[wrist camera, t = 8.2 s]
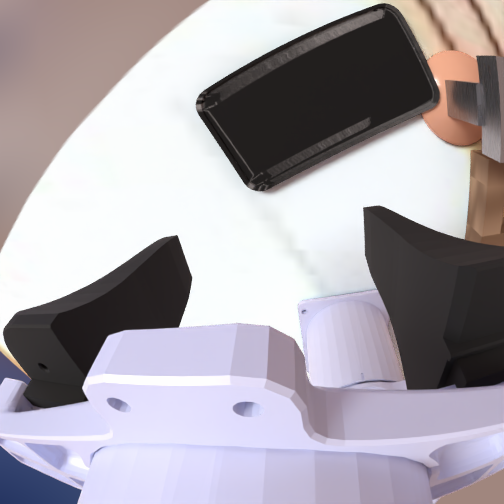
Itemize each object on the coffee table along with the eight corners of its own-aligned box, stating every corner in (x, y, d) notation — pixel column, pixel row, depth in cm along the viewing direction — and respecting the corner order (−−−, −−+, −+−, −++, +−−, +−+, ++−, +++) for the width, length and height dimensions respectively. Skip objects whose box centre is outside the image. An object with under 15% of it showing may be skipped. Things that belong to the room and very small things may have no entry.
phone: (188, 100, 18) (392, -1, 13) (193, 99, 19) (387, 2, 14) (254, 198, 21) (445, 104, 17) (255, 192, 22) (438, 102, 18)
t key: (476, 138, 18) (525, 162, 13) (448, 139, 18) (496, 162, 13) (470, 59, 15) (523, 61, 10) (441, 56, 15) (491, 55, 10)
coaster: (494, 143, 18) (497, 145, 18) (420, 146, 19) (422, 147, 19) (488, 55, 15) (491, 55, 14) (409, 48, 16) (411, 47, 15)
